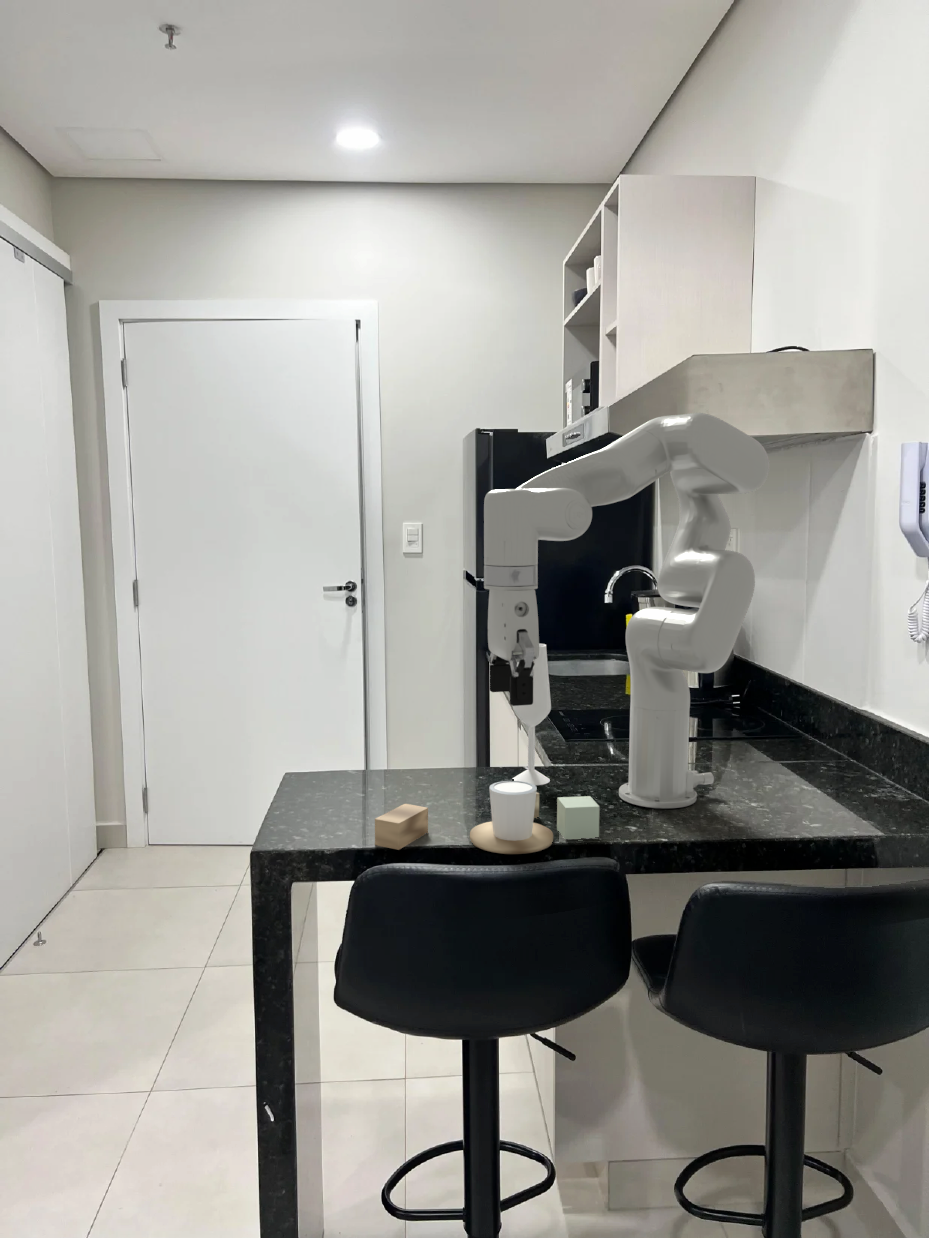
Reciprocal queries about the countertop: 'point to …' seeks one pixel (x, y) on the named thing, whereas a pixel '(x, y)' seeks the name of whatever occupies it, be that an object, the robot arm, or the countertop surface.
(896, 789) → the countertop surface
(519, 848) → the cork trivet
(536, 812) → the birch cube
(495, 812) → the shot glass
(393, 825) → the oak brick
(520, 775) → the champagne flute
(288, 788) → the countertop surface
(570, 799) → the sage painted cube
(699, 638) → the robot arm
